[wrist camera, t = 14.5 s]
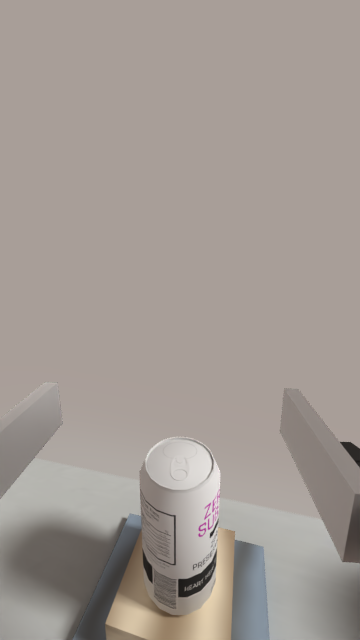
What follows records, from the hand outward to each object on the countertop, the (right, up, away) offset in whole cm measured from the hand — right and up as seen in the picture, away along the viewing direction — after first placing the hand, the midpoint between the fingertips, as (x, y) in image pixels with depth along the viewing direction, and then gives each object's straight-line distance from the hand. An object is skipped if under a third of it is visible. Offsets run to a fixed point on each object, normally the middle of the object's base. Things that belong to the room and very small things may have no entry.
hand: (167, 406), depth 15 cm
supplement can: (+1, -24, +14) cm, 28 cm away
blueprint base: (+1, -29, +16) cm, 33 cm away
